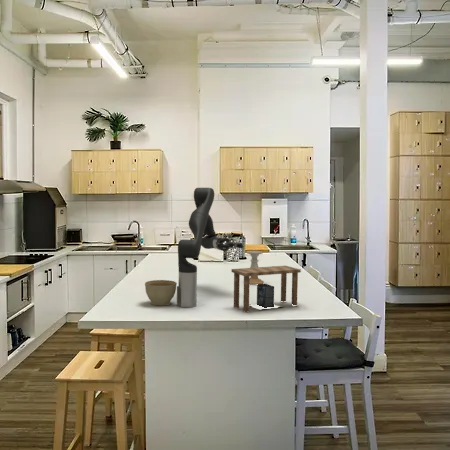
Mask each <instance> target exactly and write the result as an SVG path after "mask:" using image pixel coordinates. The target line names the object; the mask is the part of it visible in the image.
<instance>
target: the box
mask: <svg viewBox="0 0 450 450" xmlns="http://www.w3.org/2000/svg"><path fill="white" fill-rule="evenodd" d="M256 304H257V305H259V306H262V307H264V308H267V307H274V304H275V286H274V285H270V284H267V283H264V284H258V285H256Z"/></svg>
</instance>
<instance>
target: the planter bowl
mask: <svg viewBox="0 0 450 450" xmlns="http://www.w3.org/2000/svg"><path fill="white" fill-rule="evenodd" d="M177 284H178V283H177V282H176V281H175V280H166V279H154V280H148V281H144V286H145V293H146V296H147V297H148V299H149V301H150V303H151V305H153V306H168V305H170V304H171V301H172V300H173V299H174V296H175V294H176V292H177Z"/></svg>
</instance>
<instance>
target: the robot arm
mask: <svg viewBox="0 0 450 450" xmlns="http://www.w3.org/2000/svg"><path fill="white" fill-rule="evenodd" d="M214 200H215V191H214V189H213V187H196V188H195V189H194V191H193V201H194V204H195V207H196V208H195V209H194V210H193V211H192V212H191V213H190V216H189V220H188V228H189V229H190V231H191V233H192V234H193V237H194V239H180V240H179V241H178V243H177V257H178V258H177V262H178V263H177V265H178V286H177V285H176V305H177V306H178V307H180V308H193V307H197V305H198V304H197V303H198V301H197V300H198V299H197V297H198V296H197V295H198V293H197V292H198V287H197V286H198V281H197V280H198V267H197V265H196V264H193V263H191V262H190V261H188V259H197V258H199V255H200V253H201V248H202V247H203V248H204V249H206V250H210V249H216V250H218V251H222V252H227V251H229V250H231V249H243V248H244V245H243V243H242V242H239V241H238V242H237V241H231V240H230V239H229V238H228V237H225V236H224V237H223V236H218V235H217V234H216V231H215V227H214V221H213V218H212V217H211V215H210V211H211V208H212V205H213V203H214ZM204 235H205V236H204Z"/></svg>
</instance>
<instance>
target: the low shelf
mask: <svg viewBox="0 0 450 450" xmlns="http://www.w3.org/2000/svg"><path fill="white" fill-rule="evenodd" d="M301 272H302V270H301V268H297V267H292V266H288V265H277V266H276V265H273V266H261V267H259V266H258V267H256V268H250V267H243V268H231V273H232V274H233V308H235V307H237V308H240V279H241V278H240V276H242V277H243V303H242V304H243V306H242V307H243V308H242V309H243V312H244V311H245V312H244V313H248V312H247V311H249V312H250V306H249V305H250V285H249V280H250V277H251V276H258V277H259V276H270V275H280V302H281V301H286V302H287V278H288V277H287V276H288V274H292V275H291V305H292V304H293V305H297V306H298V284H299V283H298V281H299V280H298V279H299V273H301Z"/></svg>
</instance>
